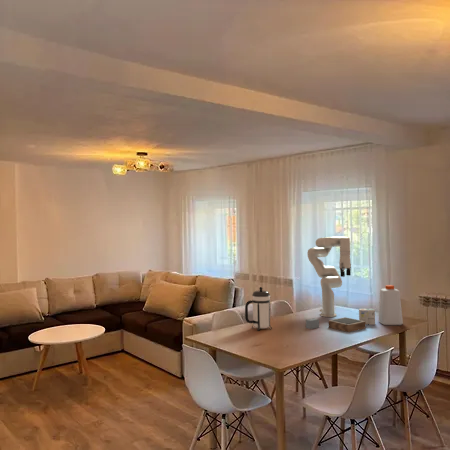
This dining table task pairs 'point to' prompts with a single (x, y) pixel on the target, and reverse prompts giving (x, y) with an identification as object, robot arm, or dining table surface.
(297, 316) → the dining table surface
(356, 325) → the walnut stand
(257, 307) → the coffee press
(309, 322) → the block
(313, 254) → the robot arm
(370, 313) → the light bulb box
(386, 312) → the plastic bottle
